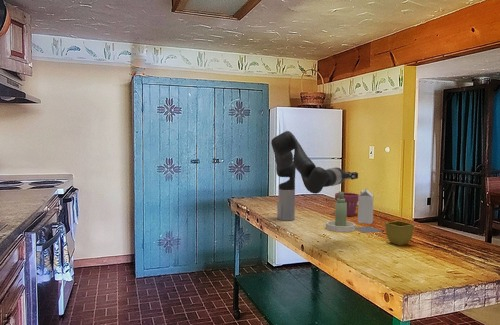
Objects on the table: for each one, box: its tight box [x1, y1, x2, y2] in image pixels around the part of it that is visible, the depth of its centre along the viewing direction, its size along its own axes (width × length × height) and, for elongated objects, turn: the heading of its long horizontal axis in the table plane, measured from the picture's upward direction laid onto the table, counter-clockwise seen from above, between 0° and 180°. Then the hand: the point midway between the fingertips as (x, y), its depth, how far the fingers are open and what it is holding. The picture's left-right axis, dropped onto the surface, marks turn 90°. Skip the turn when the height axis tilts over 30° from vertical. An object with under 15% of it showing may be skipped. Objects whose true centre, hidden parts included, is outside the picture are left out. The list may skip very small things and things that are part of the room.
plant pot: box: [334, 192, 360, 217], centre depth 228 cm, size 14×14×13 cm
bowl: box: [325, 220, 357, 233], centre depth 191 cm, size 14×14×3 cm
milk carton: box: [357, 187, 374, 225], centre depth 207 cm, size 7×7×19 cm
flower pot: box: [384, 220, 415, 246], centre depth 165 cm, size 9×9×9 cm
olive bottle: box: [334, 191, 348, 226], centre depth 190 cm, size 6×6×18 cm
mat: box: [355, 226, 384, 234], centre depth 189 cm, size 11×11×1 cm
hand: (346, 173), depth 176 cm, fingers open, 8 cm apart
